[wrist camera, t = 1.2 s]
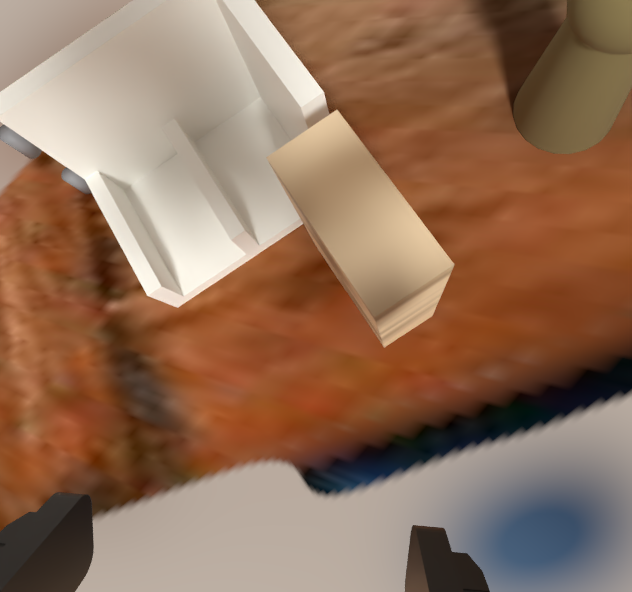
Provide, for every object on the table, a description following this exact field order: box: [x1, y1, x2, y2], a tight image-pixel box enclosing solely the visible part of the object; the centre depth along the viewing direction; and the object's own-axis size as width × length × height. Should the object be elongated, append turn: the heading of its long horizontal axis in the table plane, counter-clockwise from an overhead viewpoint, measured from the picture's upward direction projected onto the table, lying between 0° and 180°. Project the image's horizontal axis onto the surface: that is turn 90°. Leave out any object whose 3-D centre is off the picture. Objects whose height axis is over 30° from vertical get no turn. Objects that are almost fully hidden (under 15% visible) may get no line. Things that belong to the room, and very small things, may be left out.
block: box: [266, 110, 454, 347], centre depth 25 cm, size 8×4×12 cm, turn 32°
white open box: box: [0, 0, 329, 308], centre depth 28 cm, size 10×15×11 cm
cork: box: [513, 0, 632, 154], centre depth 25 cm, size 6×6×11 cm
